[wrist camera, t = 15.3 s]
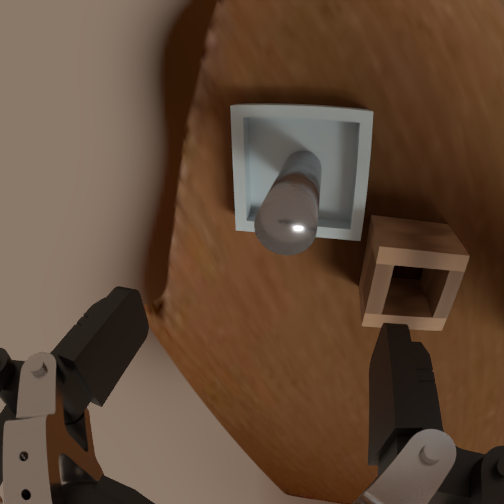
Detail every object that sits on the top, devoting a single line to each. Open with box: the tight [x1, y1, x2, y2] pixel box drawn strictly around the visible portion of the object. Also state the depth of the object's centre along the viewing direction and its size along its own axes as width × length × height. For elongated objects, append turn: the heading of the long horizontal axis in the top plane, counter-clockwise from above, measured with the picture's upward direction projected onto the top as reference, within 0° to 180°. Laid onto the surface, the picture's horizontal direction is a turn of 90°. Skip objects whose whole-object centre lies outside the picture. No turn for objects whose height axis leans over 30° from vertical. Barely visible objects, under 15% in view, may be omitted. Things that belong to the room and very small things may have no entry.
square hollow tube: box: [359, 215, 470, 331], centre depth 26 cm, size 8×8×6 cm
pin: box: [254, 150, 322, 255], centre depth 21 cm, size 3×3×12 cm
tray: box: [230, 103, 373, 241], centre depth 25 cm, size 11×11×2 cm
